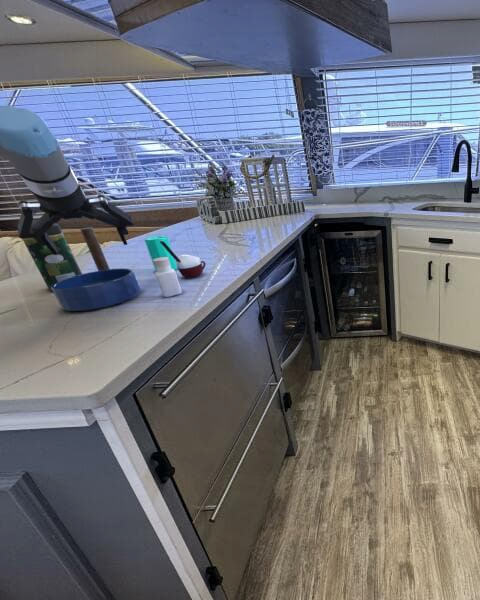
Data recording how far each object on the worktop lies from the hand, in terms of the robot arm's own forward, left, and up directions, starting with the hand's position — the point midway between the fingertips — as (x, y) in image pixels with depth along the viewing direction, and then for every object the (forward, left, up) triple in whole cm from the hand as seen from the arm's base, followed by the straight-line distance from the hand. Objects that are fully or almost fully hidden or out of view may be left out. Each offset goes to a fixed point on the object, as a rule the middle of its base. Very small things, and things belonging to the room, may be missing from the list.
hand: (91, 245), depth 83 cm
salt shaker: (+13, -16, -13) cm, 24 cm away
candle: (+14, +12, -13) cm, 22 cm away
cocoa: (+19, -3, -13) cm, 23 cm away
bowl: (-1, -8, -13) cm, 15 cm away
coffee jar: (-10, +15, -13) cm, 22 cm away
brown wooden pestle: (0, +5, -13) cm, 13 cm away
